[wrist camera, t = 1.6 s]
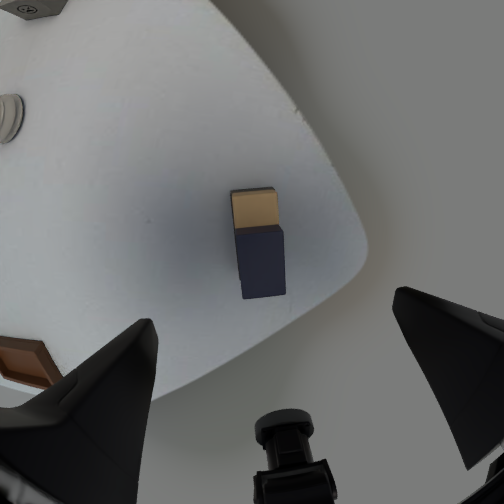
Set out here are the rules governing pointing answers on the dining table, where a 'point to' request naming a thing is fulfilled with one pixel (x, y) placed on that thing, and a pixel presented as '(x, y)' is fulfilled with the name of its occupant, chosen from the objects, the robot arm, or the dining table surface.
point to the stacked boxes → (258, 242)
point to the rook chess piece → (10, 116)
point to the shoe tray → (27, 363)
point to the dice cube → (33, 8)
